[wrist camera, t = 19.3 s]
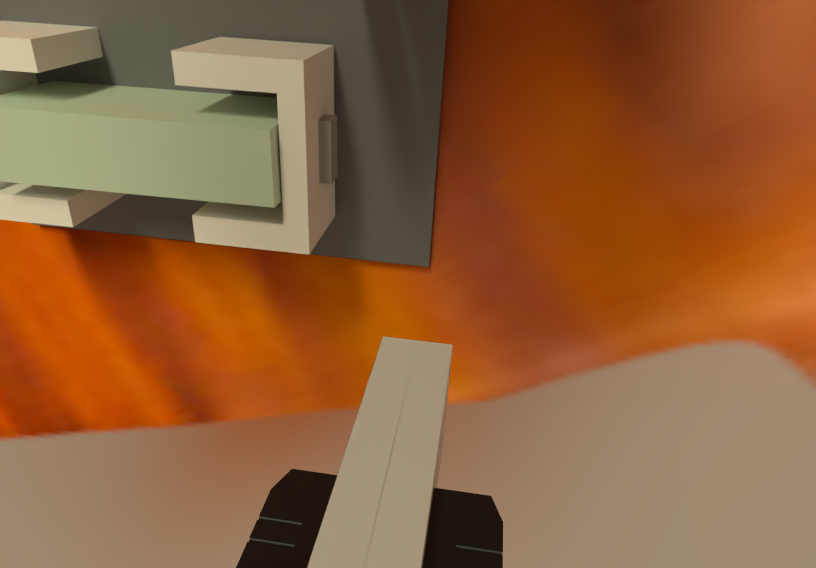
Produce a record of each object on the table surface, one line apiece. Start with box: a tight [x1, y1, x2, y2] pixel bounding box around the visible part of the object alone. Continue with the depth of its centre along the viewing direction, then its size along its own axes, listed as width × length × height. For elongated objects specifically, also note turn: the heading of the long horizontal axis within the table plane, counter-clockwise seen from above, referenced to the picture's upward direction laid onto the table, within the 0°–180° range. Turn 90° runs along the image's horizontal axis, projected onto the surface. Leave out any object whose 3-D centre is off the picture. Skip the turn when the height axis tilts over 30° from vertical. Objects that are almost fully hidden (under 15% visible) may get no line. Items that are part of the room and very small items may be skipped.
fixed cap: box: [0, 21, 126, 227], centre depth 31 cm, size 9×5×5 cm, turn 177°
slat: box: [0, 81, 282, 208], centre depth 30 cm, size 4×14×6 cm, turn 87°
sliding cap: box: [171, 37, 338, 255], centre depth 30 cm, size 9×6×5 cm
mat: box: [0, 0, 449, 267], centre depth 33 cm, size 14×24×1 cm, turn 87°
